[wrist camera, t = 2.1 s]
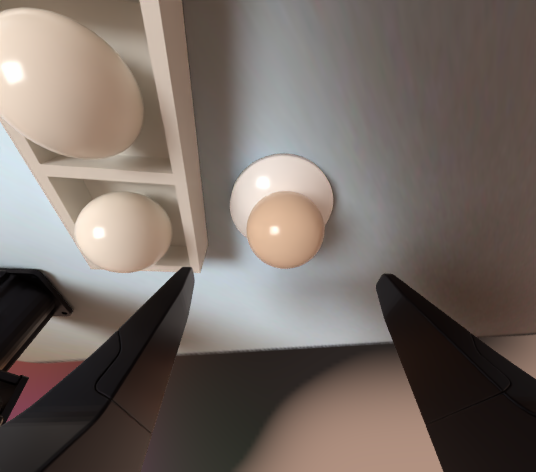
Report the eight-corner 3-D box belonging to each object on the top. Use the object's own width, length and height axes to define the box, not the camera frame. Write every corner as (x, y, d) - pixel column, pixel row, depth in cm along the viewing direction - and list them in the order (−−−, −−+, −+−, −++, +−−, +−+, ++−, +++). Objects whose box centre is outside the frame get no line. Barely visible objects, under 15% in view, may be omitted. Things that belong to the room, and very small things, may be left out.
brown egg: (307, 237, 16) (321, 286, 13) (246, 234, 16) (243, 284, 12) (323, 180, 13) (346, 222, 10) (249, 175, 13) (245, 217, 9)
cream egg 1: (168, 145, 12) (128, 182, 8) (77, 138, 11) (-8, 172, 8) (146, 28, 9) (68, 2, 5) (23, 12, 8) (-155, -27, 5)
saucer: (317, 243, 18) (319, 249, 17) (231, 239, 17) (230, 245, 16) (343, 158, 13) (347, 162, 13) (230, 148, 13) (228, 153, 12)
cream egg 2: (186, 239, 16) (164, 291, 12) (119, 236, 15) (77, 289, 12) (175, 180, 13) (142, 225, 9) (93, 174, 12) (26, 219, 9)
